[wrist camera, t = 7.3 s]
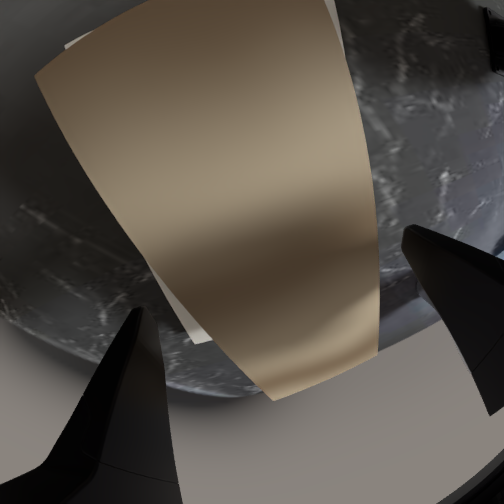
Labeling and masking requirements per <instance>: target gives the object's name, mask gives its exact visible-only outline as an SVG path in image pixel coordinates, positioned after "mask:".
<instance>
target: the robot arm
mask: <svg viewBox="0 0 504 504" xmlns="http://www.w3.org/2000/svg"><path fill="white" fill-rule="evenodd" d="M484 14H485V18H486V24H487V29H488V36H489V43H490V51H491V62H492V69H493V72H495V73H497V74H500V75H503V76H504V18H503V17H502V16H500V15H499V14H497V13H496V12H494V11H493V10H491V9H490V8H487V7H484ZM401 249H402V252H403V254H404V255H405V257H406V259H407V261H408V262H409V264H410V266H411V268H412V270H413V271H414V273H415V275H416V277H417V279H418V281H419V282H420V284H421V286H422V287H423V289H424V291H425V292H426V294H427V295H428V297H429V298H430V300H431V302H432V303H433V305H434V306H435V308H436V310H437V311H438V313H439V315H440V316H441V318H442V320H443V321H444V323H445V325H446V327H447V328H448V330H449V332H450V334H451V335H452V337H453V339H454V341H455V343H456V345H457V347H458V348H459V350H460V352H461V354H462V356H463V358H464V360H465V362H466V364H467V366H468V368H469V370H470V372H471V375H472V377H473V379H474V381H475V383H476V385H477V388H478V390H479V392H480V395H481V397H482V399H483V402H484V404H485V407H486V409H487V412H488V414H489V415H490V416H491V415H493V414H494V413H496V412H497V411H498V410H500V409H501V408H502V407H504V260H502V259H500V258H498V257H495V256H493V255H491V254H489V253H487V252H484V251H482V250H480V249H477V248H475V247H473V246H470V245H468V244H465V243H463V242H460V241H458V240H455V239H453V238H450V237H448V236H445V235H443V234H440V233H437V232H435V231H432V230H429V229H426V228H424V227H421V226H418V225H415V224H413V225H409V226H407V227H405V228H404V231H403V237H402V243H401ZM83 395H84V396H82V397H81V399H80V401H79V403H78V405H77V407H76V408H75V410H74V412H73V414H72V416H71V418H70V419H69V421H68V423H67V424H66V426H65V428H64V430H63V431H62V433H61V435H60V436H59V438H58V440H57V441H56V443H55V445H54V447H53V449H52V450H51V452H50V454H49V455H48V457H47V458H46V460H45V461H44V462H43V463H42V464H41V465H40V466H38V467H37V468H35V469H33V470H31V471H29V472H27V473H25V474H23V475H20V476H18V477H16V478H14V479H12V480H9V481H7V482H5V483H3V484H0V504H183V502H182V498H181V492H180V487H179V484H178V477H177V472H176V466H175V460H174V454H173V447H172V439H171V432H170V424H169V414H168V405H167V394H166V381H165V369H164V362H163V357H162V351H161V345H160V338H159V331H158V326H157V323H156V321H155V320H154V318H153V317H152V315H151V314H150V312H149V311H148V309H147V308H146V307H145V306H141V307H137V308H134V309H132V310H131V312H130V314H129V315H128V317H127V318H126V320H125V322H124V323H123V325H122V327H121V328H120V330H119V331H118V333H117V335H116V336H115V338H114V340H113V341H112V343H111V345H110V347H109V348H108V350H107V352H106V353H105V355H104V357H103V359H102V360H101V362H100V364H99V366H98V367H97V369H96V371H95V373H94V375H93V377H92V378H91V380H90V382H89V384H88V386H87V388H86V389H85V391H84V393H83ZM437 504H504V449H503V450H502V451H501V452H500V453H499V454H498V455H497V456H496V457H495V458H494V459H493V460H492V461H491V462H490V463H488V464H487V465H486V466H485V467H484V468H483V469H482V470H480V471H479V472H478V473H477V474H476V475H475V476H473V477H472V478H471V479H470V480H468V481H467V482H466V483H465V484H463V485H462V486H461V487H459V488H458V489H457V490H456V491H454V492H453V493H451V494H450V495H449V496H447V497H446V498H444V499H443V500H441V501H440V502H438V503H437Z"/></svg>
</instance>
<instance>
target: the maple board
mask: <svg viewBox="0 0 504 504" xmlns="http://www.w3.org/2000/svg"><path fill="white" fill-rule="evenodd" d="M34 77H35V79H36V81H37V83H38V86H39V88H40V90H41V92H42V94H43V96H44V98H45V100H46V102H47V104H48V106H49V108H50V110H51V112H52V114H53V116H54V118H55V120H56V122H57V124H58V126H59V127H60V129H61V131H62V133H63V135H64V137H65V138H66V140H67V142H68V144H69V145H70V147H71V149H72V151H73V152H74V154H75V156H76V157H77V159H78V161H79V163H80V164H81V166H82V167H83V169H84V171H85V172H86V174H87V176H88V177H89V179H90V180H91V182H92V184H93V185H94V187H95V188H96V190H97V191H98V193H99V194H100V196H101V197H102V199H103V200H104V202H105V203H106V205H107V206H108V208H109V209H110V211H111V212H112V214H113V215H114V217H115V218H116V220H117V221H118V222H119V224H120V225H121V227H122V228H123V229H124V231H125V232H126V234H127V235H128V236H129V238H130V239H131V241H132V242H133V243H134V245H135V246H136V247H137V249H138V250H139V251H140V253H141V254H142V255H143V257H144V258H145V259H146V261H147V262H148V263H149V264H150V266H151V267H152V268H153V270H154V271H155V272H156V273H157V275H158V276H159V277H160V278H161V280H162V281H163V282H164V283H165V285H166V286H167V287H168V288H169V290H170V291H171V292H172V293H173V294H174V296H175V297H176V298H177V299H178V300H179V302H180V303H181V304H182V305H183V306H184V308H185V309H186V310H187V311H188V312H189V313H190V315H191V316H192V317H193V318H194V319H195V320H196V322H197V323H198V324H199V325H200V326H201V327H202V328H203V329H204V331H205V332H206V333H207V334H208V335H209V336H210V337H211V338H212V339H213V340H214V342H215V343H216V344H217V345H218V346H219V347H220V348H221V349H222V350H223V351H224V352H225V353H226V354H227V355H228V357H229V358H230V359H231V360H232V361H233V362H234V363H235V364H236V365H237V366H238V367H239V368H240V369H241V370H242V371H243V372H244V373H245V374H246V375H247V376H248V377H249V378H250V379H251V380H252V381H253V382H254V383H255V384H256V385H257V386H258V387H259V388H260V389H261V390H262V391H263V392H264V393H265V394H266V395H267V396H269V397H270V398H271V399H272V400H273V401H275V400H277V399H280V398H283V397H286V396H288V395H291V394H294V393H296V392H299V391H301V390H304V389H306V388H309V387H311V386H313V385H316V384H318V383H321V382H323V381H325V380H327V379H330V378H332V377H334V376H336V375H338V374H341V373H343V372H345V371H347V370H349V369H351V368H353V367H355V366H357V365H359V364H361V363H363V362H365V361H367V360H369V359H371V358H372V357H374V356H376V355H377V351H378V336H379V307H380V278H379V249H378V233H377V220H376V210H375V200H374V192H373V184H372V176H371V170H370V163H369V157H368V151H367V145H366V140H365V135H364V130H363V125H362V120H361V116H360V111H359V107H358V103H357V98H356V94H355V91H354V87H353V83H352V79H351V76H350V72H349V69H348V65H347V62H346V59H345V56H344V53H343V49H342V46H341V43H340V40H339V38H338V35H337V32H336V29H335V26H334V24H333V21H332V19H331V16H330V13H329V11H328V8H327V6H326V4H325V1H324V0H148V1H146V2H144V3H142V4H140V5H138V6H136V7H134V8H132V9H130V10H128V11H126V12H124V13H122V14H120V15H119V16H117V17H115V18H113V19H112V20H110V21H108V22H106V23H105V24H103V25H101V26H100V27H98V28H97V29H95V30H93V31H92V32H90V33H89V34H87V35H86V36H84V37H83V38H81V39H80V40H78V41H77V42H76V43H74V44H73V45H71V46H70V47H69V48H67V49H66V50H65V51H63V52H62V53H61V54H59V55H58V56H57V57H56V58H54V59H53V60H52V61H51V62H49V63H48V64H47V65H46V66H45V67H44V68H42V69H41V70H40V71H39V72H38V73H37V74H36V75H34Z"/></svg>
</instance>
